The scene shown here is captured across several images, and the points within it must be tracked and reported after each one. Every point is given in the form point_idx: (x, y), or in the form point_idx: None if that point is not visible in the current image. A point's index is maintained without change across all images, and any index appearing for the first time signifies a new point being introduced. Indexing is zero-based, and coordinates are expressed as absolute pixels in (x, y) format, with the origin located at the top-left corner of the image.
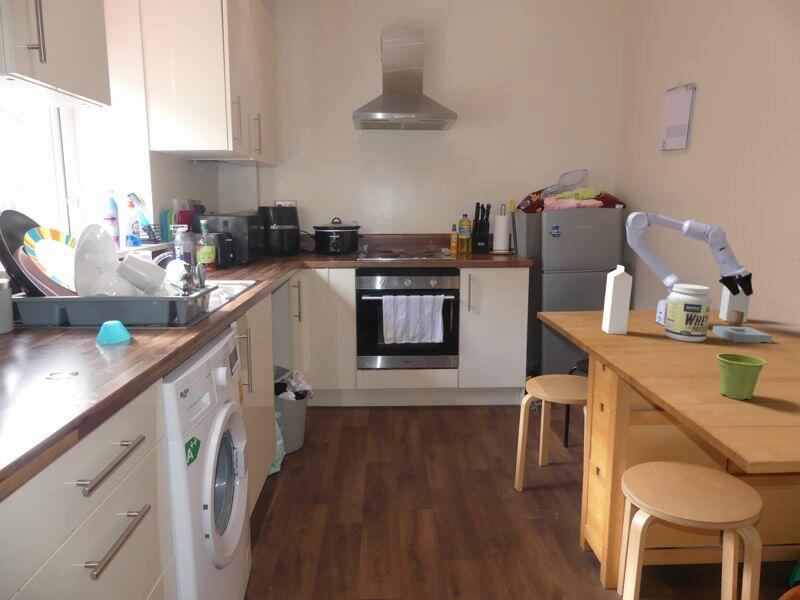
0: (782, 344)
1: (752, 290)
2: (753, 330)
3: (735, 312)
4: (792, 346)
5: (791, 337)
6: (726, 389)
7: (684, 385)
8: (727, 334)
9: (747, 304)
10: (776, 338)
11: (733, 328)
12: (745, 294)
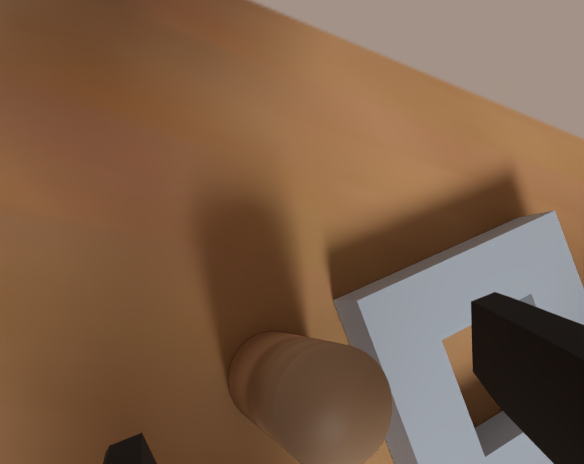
0: (509, 158)
1: (535, 308)
2: (462, 290)
3: (386, 431)
4: (528, 120)
5: (271, 20)
6: None
7: None
8: None
9: None
10: (361, 136)
11: (470, 420)
12: (496, 395)
